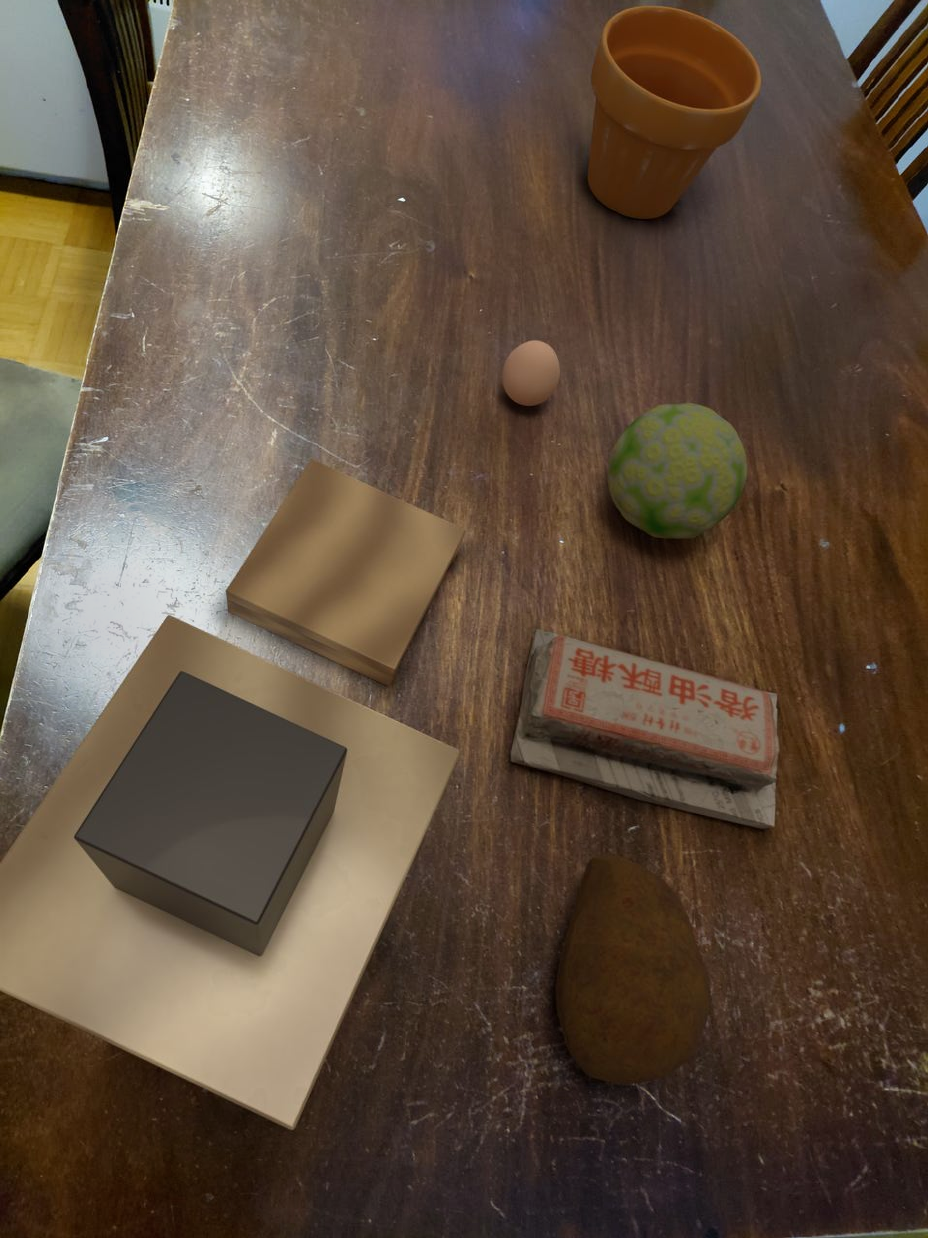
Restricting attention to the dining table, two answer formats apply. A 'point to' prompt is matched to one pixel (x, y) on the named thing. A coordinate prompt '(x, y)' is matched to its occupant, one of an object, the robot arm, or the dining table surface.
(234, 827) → the block
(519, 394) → the egg
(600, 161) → the flower pot
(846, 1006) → the dining table surface
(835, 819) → the dining table surface
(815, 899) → the dining table surface
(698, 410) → the decorative ball
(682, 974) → the potato
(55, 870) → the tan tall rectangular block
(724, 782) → the packaged product
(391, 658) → the tan flat square block
